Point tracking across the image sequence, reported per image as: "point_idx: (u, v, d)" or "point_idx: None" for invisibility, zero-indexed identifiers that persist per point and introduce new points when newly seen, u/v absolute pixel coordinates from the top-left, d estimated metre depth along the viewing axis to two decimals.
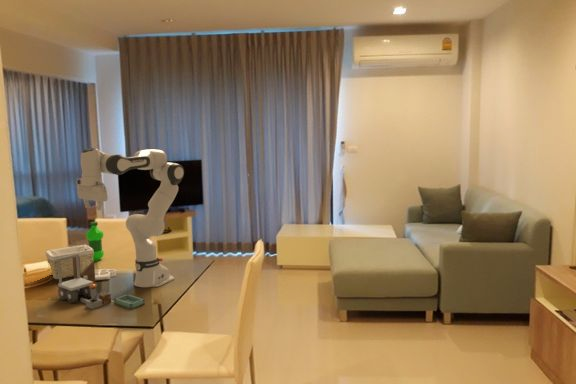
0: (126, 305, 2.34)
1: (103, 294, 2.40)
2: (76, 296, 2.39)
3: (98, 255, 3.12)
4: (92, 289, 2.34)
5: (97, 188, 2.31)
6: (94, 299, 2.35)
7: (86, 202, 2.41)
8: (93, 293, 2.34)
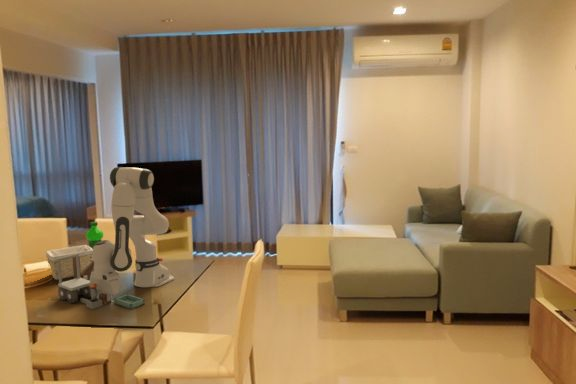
0: (126, 305, 2.34)
1: (103, 294, 2.40)
2: (76, 296, 2.39)
3: None
4: (92, 289, 2.34)
5: None
6: (94, 299, 2.35)
7: None
8: (93, 293, 2.34)
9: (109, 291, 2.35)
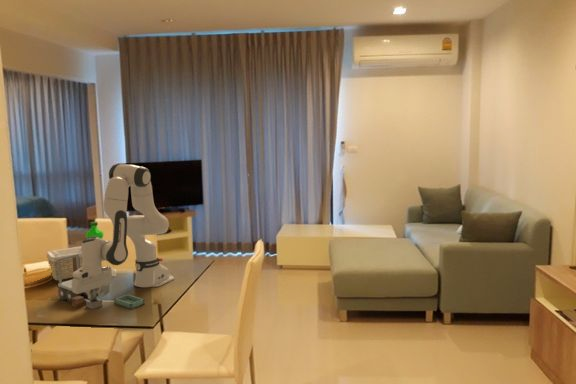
0: (126, 305, 2.34)
1: (77, 297, 2.36)
2: None
3: None
4: None
5: (107, 272, 2.39)
6: (94, 299, 2.35)
7: None
8: (93, 293, 2.34)
9: None
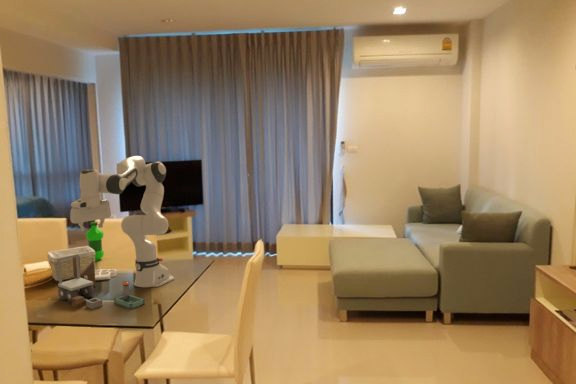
0: (126, 305, 2.34)
1: (77, 297, 2.36)
2: None
3: (98, 255, 3.12)
4: (125, 286, 2.36)
5: (105, 205, 2.42)
6: (127, 296, 2.37)
7: None
8: (126, 290, 2.36)
9: None
